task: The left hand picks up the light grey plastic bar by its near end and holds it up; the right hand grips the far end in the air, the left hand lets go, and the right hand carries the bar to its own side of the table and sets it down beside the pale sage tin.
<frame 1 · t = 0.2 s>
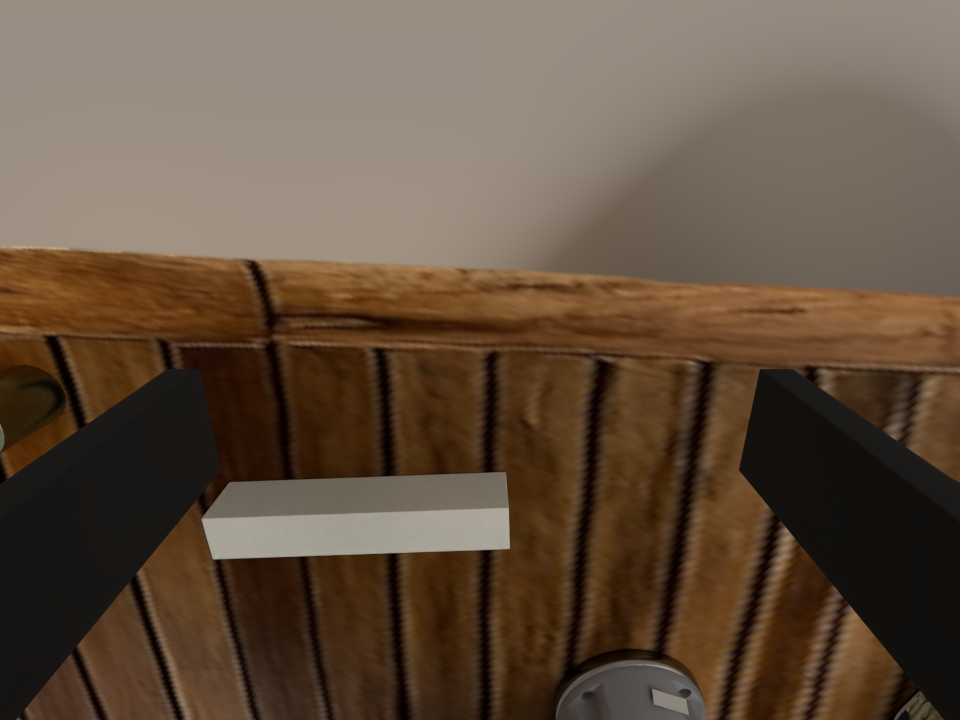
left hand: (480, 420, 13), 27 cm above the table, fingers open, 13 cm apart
bar: (369, 496, 46), on the table
sage tin: (33, 394, 43), on the table
fossil: (943, 697, 56), on the table
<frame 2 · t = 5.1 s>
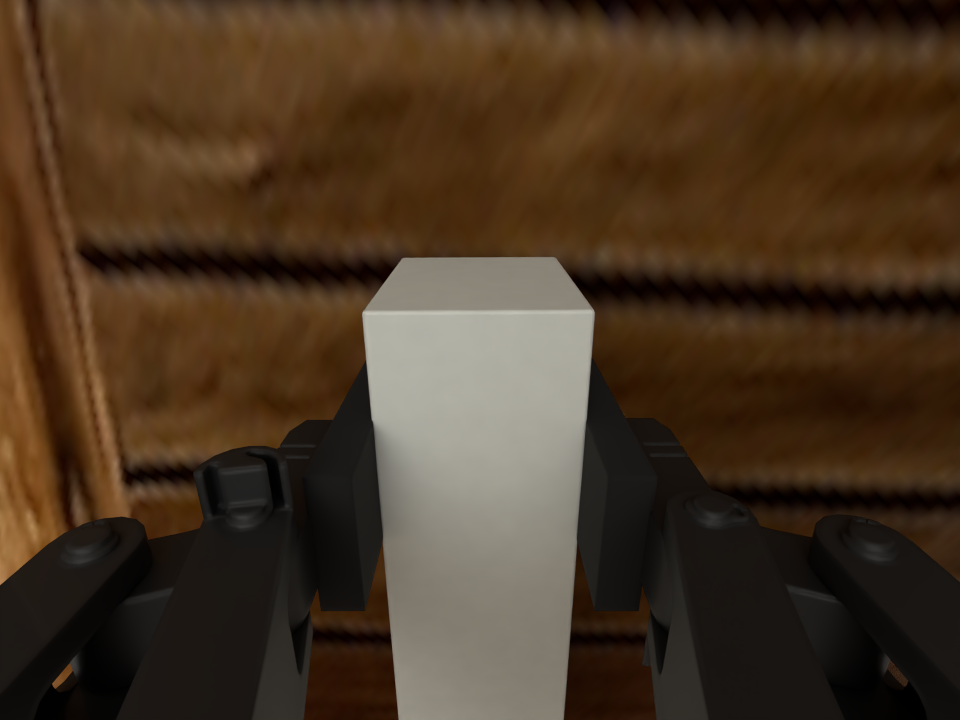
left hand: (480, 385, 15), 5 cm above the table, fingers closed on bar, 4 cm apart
bar: (481, 609, 18), point 5 cm above the table, touching left hand
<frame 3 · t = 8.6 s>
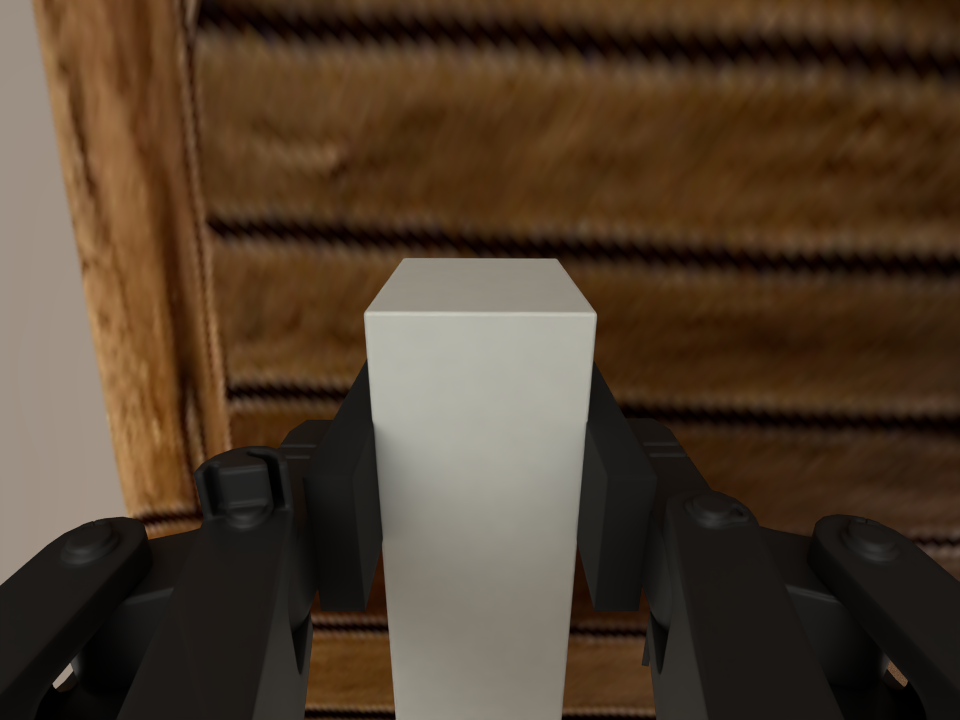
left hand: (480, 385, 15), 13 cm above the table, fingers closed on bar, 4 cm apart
bar: (478, 610, 18), point 12 cm above the table, touching left hand
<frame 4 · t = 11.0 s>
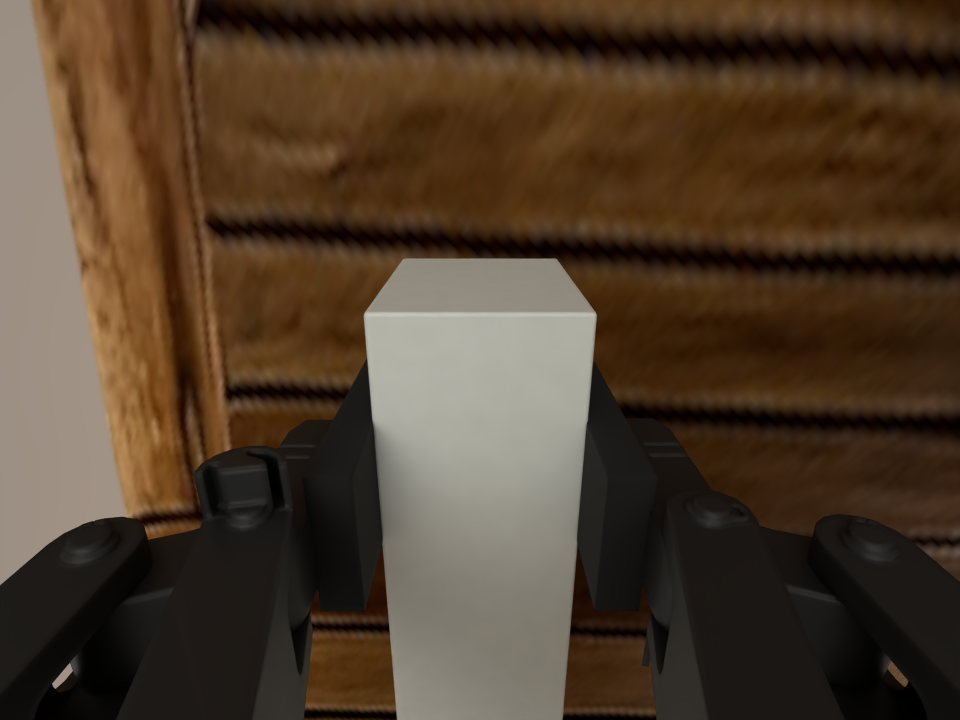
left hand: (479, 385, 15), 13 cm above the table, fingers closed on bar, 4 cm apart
bar: (479, 610, 18), point 12 cm above the table, touching left hand, right hand
when the left hand's fingers open (13 cm above the table, at t = 12.0 s): bar stays where it is, held by the right hand.
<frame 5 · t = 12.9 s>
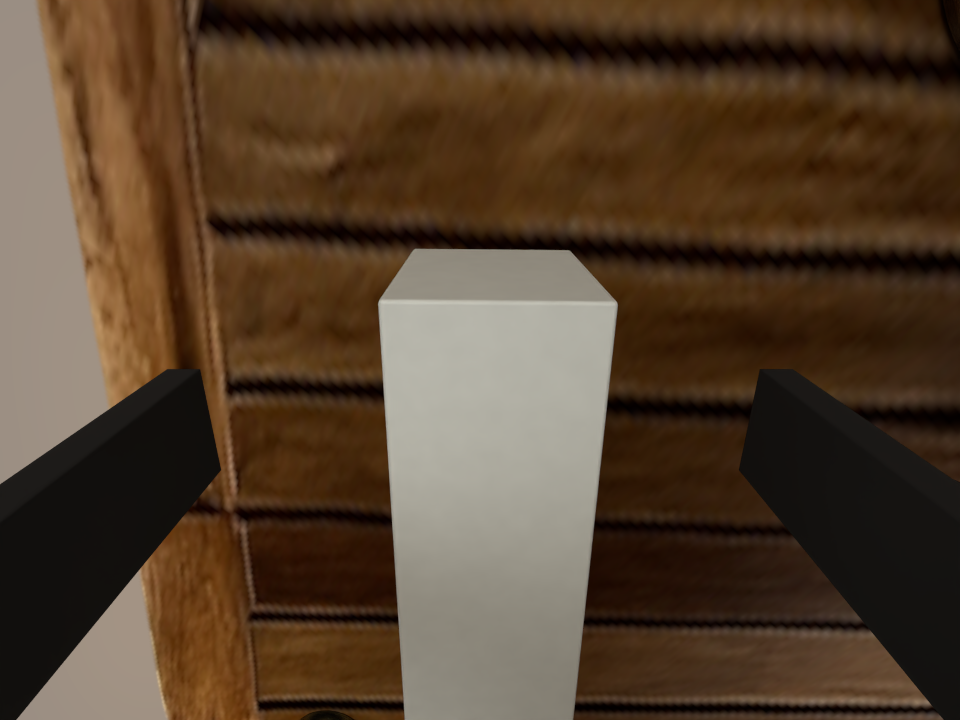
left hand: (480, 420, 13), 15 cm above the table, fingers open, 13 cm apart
bar: (485, 608, 18), point 13 cm above the table, touching right hand
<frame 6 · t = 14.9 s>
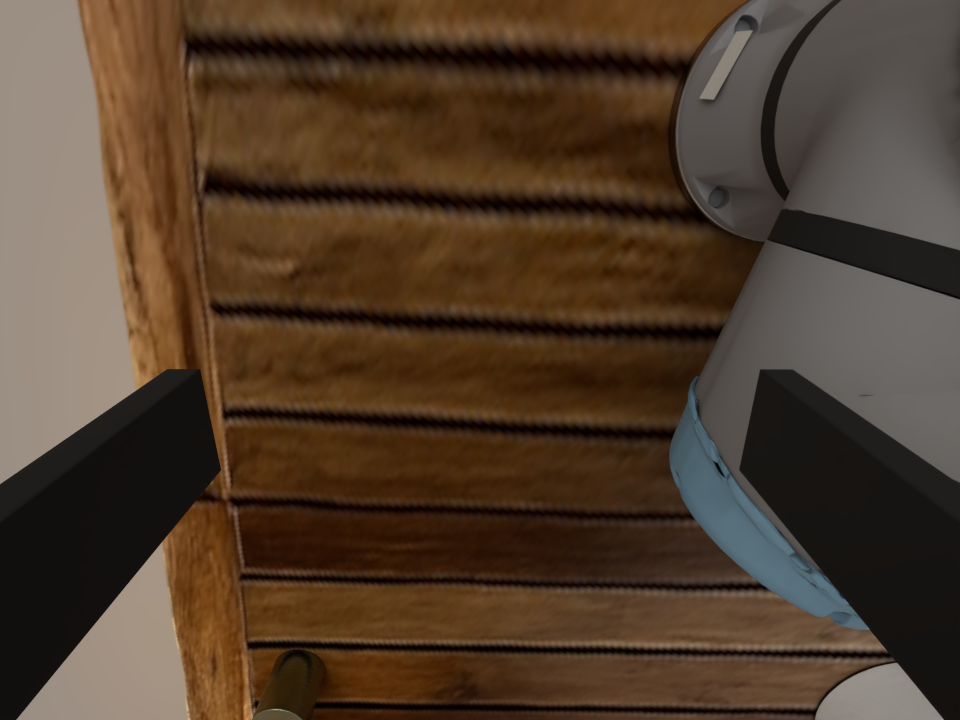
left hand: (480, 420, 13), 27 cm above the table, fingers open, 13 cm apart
sage tin: (300, 667, 53), on the table
when the right hand's fingers open (4 cm above the table, at t = 18.9 s): bar stays where it is, on the table.
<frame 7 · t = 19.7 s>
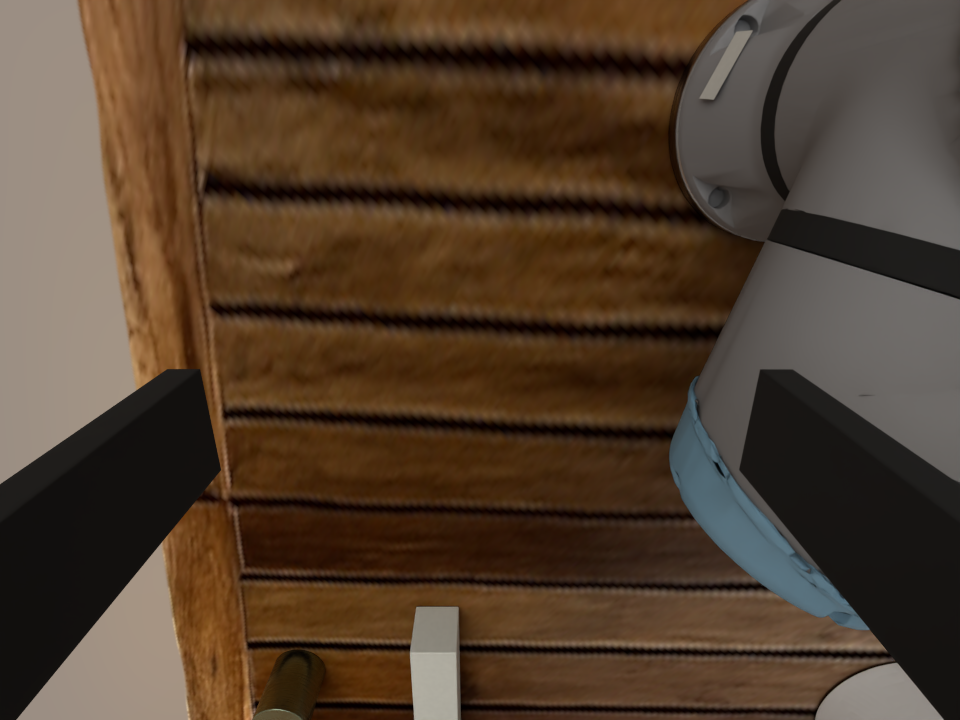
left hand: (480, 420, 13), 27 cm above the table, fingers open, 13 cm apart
bar: (440, 695, 54), on the table
sage tin: (300, 667, 53), on the table
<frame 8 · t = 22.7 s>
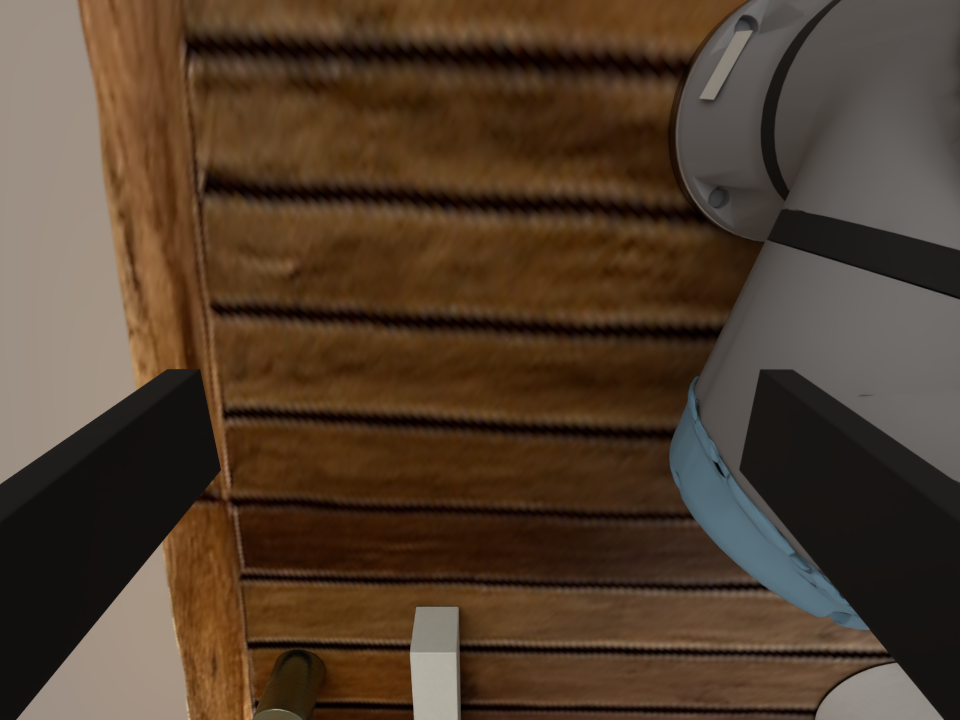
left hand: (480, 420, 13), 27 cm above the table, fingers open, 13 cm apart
bar: (440, 695, 54), on the table
sage tin: (300, 667, 53), on the table
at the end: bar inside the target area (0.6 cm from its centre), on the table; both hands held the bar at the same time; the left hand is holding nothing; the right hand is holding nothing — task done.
